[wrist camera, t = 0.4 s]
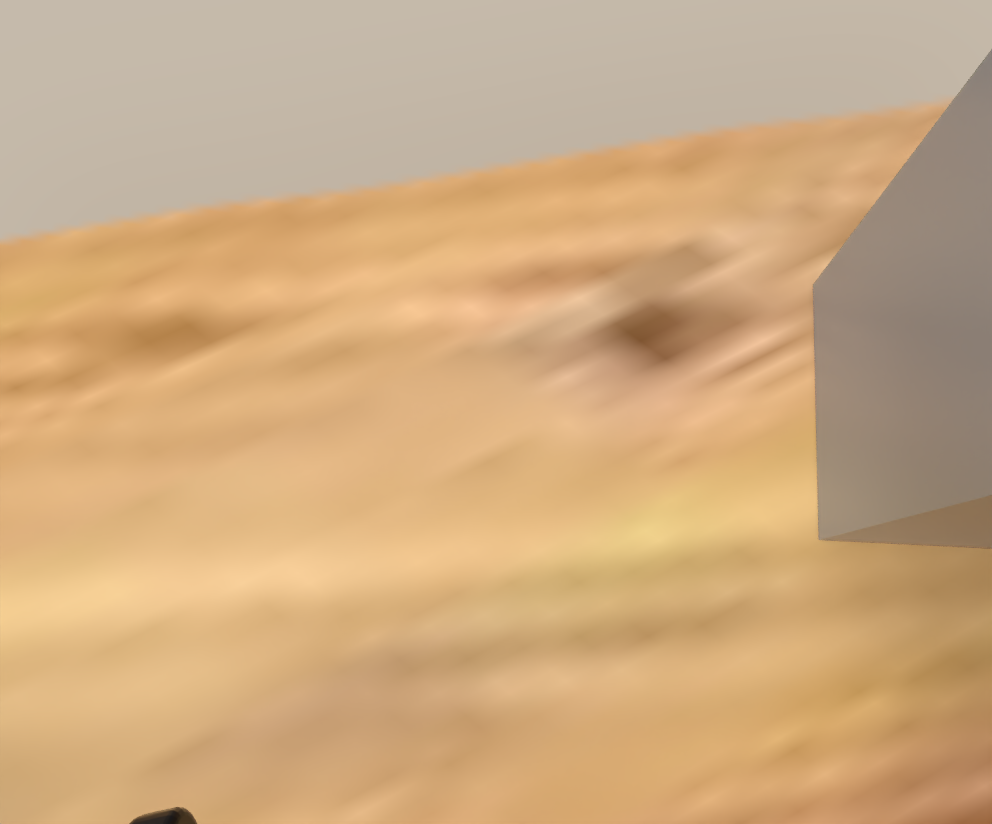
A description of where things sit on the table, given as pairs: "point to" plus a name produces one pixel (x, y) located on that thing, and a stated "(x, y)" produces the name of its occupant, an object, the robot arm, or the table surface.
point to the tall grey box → (913, 348)
